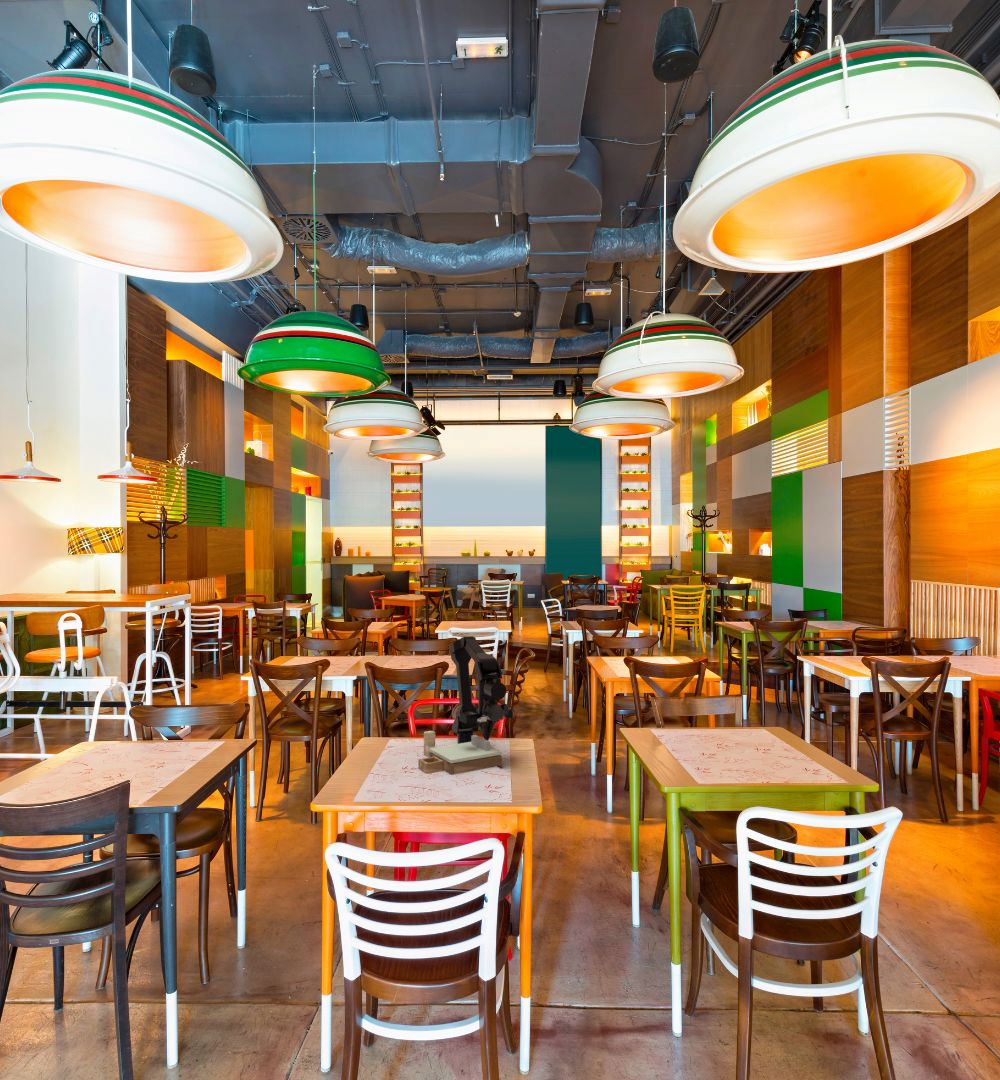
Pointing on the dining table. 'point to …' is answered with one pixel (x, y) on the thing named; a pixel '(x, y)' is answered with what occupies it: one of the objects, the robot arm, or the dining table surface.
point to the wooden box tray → (457, 764)
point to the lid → (466, 750)
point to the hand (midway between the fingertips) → (486, 740)
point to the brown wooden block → (428, 742)
